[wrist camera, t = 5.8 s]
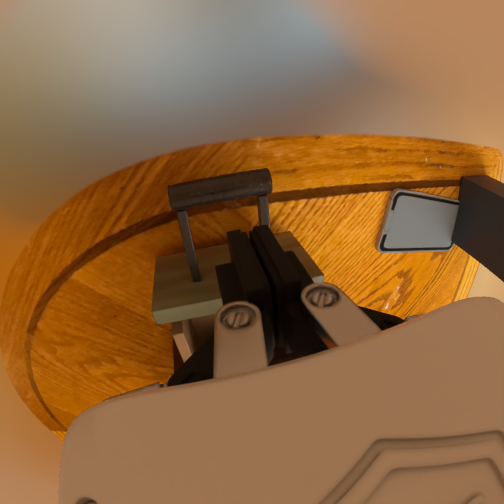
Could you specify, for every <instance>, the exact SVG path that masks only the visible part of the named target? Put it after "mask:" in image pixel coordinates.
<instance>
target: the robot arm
mask: <svg viewBox="0 0 504 504" xmlns="http://www.w3.org/2000/svg"><path fill="white" fill-rule="evenodd" d="M249 237H250V240H249V238H248V236H247V234H246V232H242V233H241V231H240V229H239V230H234V231H228V232H227V239H228V246H229V252H230V259H231V263H226V264H221V265H216V266H215V270H216V275H217V280H218V285H219V290H220V294H221V299H222V304H223V306H222V307H221V308H220V309H219V310H218V311H217V313H216V316H215V328H214V332H213V333H212V334H211V335H210V337H209V338H208V339H207V340H206V341H205V342H204V343H203V344H202V345H201V346H200V347H199V348H198V349H197V350H196V351H195V352H194V353H193V354H192V355H191V356H190V357H189V358H188V359H187V360H186V361H185V362H184V363H183V365H182V366H181V367H180V368H179V369H178V370H177V371H176V372H175V373H174V374H173V375H172V376H171V378H170V379H169V381H168V382H167V383H164V384H160V383H159V382H157V383H154V384H151V385H148V386H145V387H142V388H139V389H136V390H133V391H129V392H126V393H123V394H120V395H116V396H113V397H110V398H108V399H106V400H104V401H103V402H101V403H99V404H96V405H94V406H92V407H90V408H88V409H87V410H85V411H83V412H82V413H81V414H79V415H78V416H77V417H76V418H75V419H74V420H73V421H72V423H71V425H70V426H69V428H68V431H67V433H66V436H65V440H64V444H63V449H62V454H61V461H60V471H59V491H58V494H59V504H504V303H503V302H501V301H500V300H498V299H495V298H491V297H472V298H467V299H463V300H459V301H456V302H453V303H450V304H448V305H446V306H443V307H440V308H438V309H436V310H433V311H431V312H428V313H426V314H420V315H414V316H408V317H405V319H404V320H403V319H401V318H399V317H396V316H393V315H390V314H386V313H382V312H379V311H375V310H371V309H368V308H364V307H360V306H357V305H356V304H355V303H354V302H353V301H352V300H351V299H350V298H349V297H348V296H347V295H346V294H345V293H344V292H343V291H342V290H341V289H340V288H338V287H337V286H335V285H333V284H330V283H325V282H318V283H314V281H313V280H312V278H311V277H310V275H309V274H308V272H307V271H306V269H305V268H304V266H303V265H302V263H301V262H300V260H299V259H298V258H297V256H296V255H295V253H294V252H293V251H286V252H284V250H283V249H282V247H281V246H280V244H279V243H278V241H277V239H276V238H275V236H274V235H273V233H272V232H271V230H270V228H269V227H268V225H267V224H266V225H261V226H255V227H253V230H252V231H249ZM274 338H275V340H276V343H277V345H278V347H282V346H283V348H284V350H285V353H286V354H288V353H292V352H293V353H296V354H299V358H298V359H295V360H291V361H287V362H284V363H280V364H276V365H272V366H268V364H269V362H270V361H271V360H272V358H273V357H274V348H275V343H274Z"/></svg>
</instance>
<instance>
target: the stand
mask: <svg viewBox="0 0 504 504" xmlns="http://www.w3.org/2000/svg"><path fill="white" fill-rule="evenodd" d="M458 200H459V201H460V202H459V207H458V212H457V217H456V222H455V226H454V230H453V235H452V239H451V241H452V242H453V243H455V244H456V245H457V246H459V247H460V248H461V249H463V250H464V251H465V252H467V253H468V254H469V255H471V256H472V257H473V258H475V259H476V260H477V261H479V262H480V263H481V264H483V265H484V266H485V267H486V268H487V269H489V270H490V271H491V272H492V273H493V274H495V275H496V276H498V278H500V279H501V280H502V281H503V282H504V184H503V183H502V182H500V181H497V180H495V179H493V178H491V177H489V176H487V175H486V176H468V177H462V178H461V185H460V192H459V198H458Z"/></svg>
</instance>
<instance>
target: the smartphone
mask: <svg viewBox="0 0 504 504" xmlns="http://www.w3.org/2000/svg"><path fill="white" fill-rule="evenodd" d="M459 202H460V201H459V200H456V199H451V198H446V197H442V196H437V195H433V194H428V193H424V192H419V191H412V190H406V189H401V188H396V189H394V190H393V191H392V192H391V193H390V195H389V199H388V202H387V206H386V210H385V213H384V217H383V221H382V224H381V227H380V231H379V234H378V237H377V241H376V249H377V250H378V251H379V252H380V253H404V252H436V251H449V250H450V249H451V248H452V247H453V245H454V243H453V242H452V241H451V239H452V235H453V230H454V226H455V222H456V217H457V212H458V207H459Z"/></svg>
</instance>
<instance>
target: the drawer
mask: <svg viewBox="0 0 504 504" xmlns="http://www.w3.org/2000/svg"><path fill="white" fill-rule="evenodd" d="M271 192H272V179H271V175H270V172H269V170H268V169H267V168H263V169H256V170H250V171H243V172H237V173H231V174H225V175H219V176H213V177H208V178H202V179H197V180H192V181H187V182H182V183H177V184H172V185H168V195H169V200H170V205H171V209H172V211H173V212H174V211H177V212H176V213H177V217H178V222H179V226H180V231H181V235H182V239H183V243H184V248H185V252H182V253H177V254H172V255H167V256H163V257H158V258H156V266H155V275H154V286H153V299H152V315H153V317H154V319H155V322H156V324H157V325H160V324H165V323H171V322H172V335H173V338H174V340H175V342H176V345H177V347H178V350H179V352H180V354H181V357H182V359H183V361H184V362H185V361H186V360H187V359H188V358H189V357H190V356H191V355H192V354H193V353H194V352H195V351H196V350H197V349H198V348H199V347H200V346H201V345H202V344H203V343H204V342H205V341H206V340H207V339H208V338H209V337H210V335H211V334H212V333H213V332H214V328H215V316H216V313H217V311H218V310H219V309H220V308H221V307H222V306H223V304H222V299H221V294H220V290H219V285H218V280H217V275H216V270H215V266H216V265H221V264H226V263H231V259H230V252H229V246H228V243H226V244H221V245H216V246H212V247H207V248H202V249H197V250H195V248H194V243H193V239H192V234H191V229H190V224H189V220H188V215H187V210H186V209H188V208H193V207H198V206H204V205H209V204H214V203H219V202H225V201H230V200H236V199H242V198H247V197H253V196H256V197H257V207H258V218H259V226H261V225H266V224H267V225H268V227H269V228H270V220H269V207H268V196H267V194H270V193H271ZM273 235H274V236H275V238H276V239H277V241H278V243H279V244H280V246H281V247H282V249H283V250H284V252H286V251H293V252H294V253H295V255H296V256H297V258H298V259H299V260H300V262H301V263H302V265H303V266H304V268H305V269H306V271H307V272H308V274H309V275H310V277H311V278H312V280H313V281H314V283H318V282H324V274H323V273H322V271H321V270H320V269H319V267H318V266H317V265H316V264H315V262H314V261H313V260H312V258H311V257H310V256H309V255H308V253H307V252H306V251H305V249H304V248H303V247H302V246H301V244H300V243H299V242H298V241H297V239H296V238H295V237H294V236H293V234H292V233H291V232H290V231H288V232H283V233H277V234H273ZM249 240H250V239H249ZM274 343H275V348H274V357H273V358H272V360H271V361H270V362H274V361H278V360H282V359H285V358H289V357H293V356H296V355H299V354H296V353H293V352H292V353H288V354H286V353H285V350H284V348H283V346H282V347H278V345H277V343H276V340H275V338H274ZM270 362H269V363H270Z"/></svg>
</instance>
